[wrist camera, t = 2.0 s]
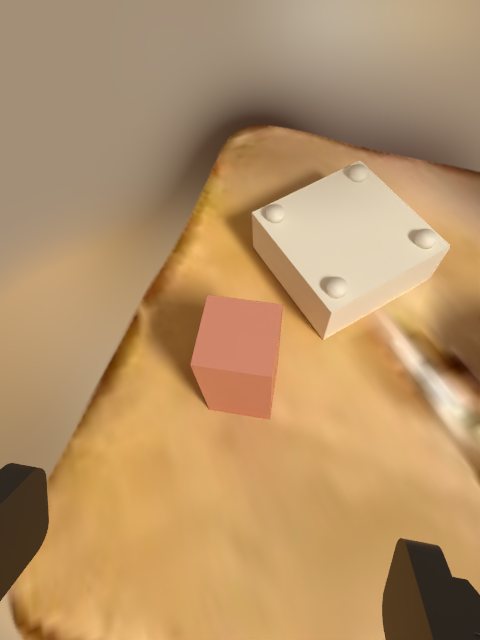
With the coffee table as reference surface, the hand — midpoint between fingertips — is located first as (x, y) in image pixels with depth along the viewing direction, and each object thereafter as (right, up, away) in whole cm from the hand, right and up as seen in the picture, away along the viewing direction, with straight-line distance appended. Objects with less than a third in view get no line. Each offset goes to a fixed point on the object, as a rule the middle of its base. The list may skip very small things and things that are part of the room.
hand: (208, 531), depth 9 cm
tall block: (+1, -1, +25) cm, 25 cm away
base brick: (+10, +10, +31) cm, 34 cm away
